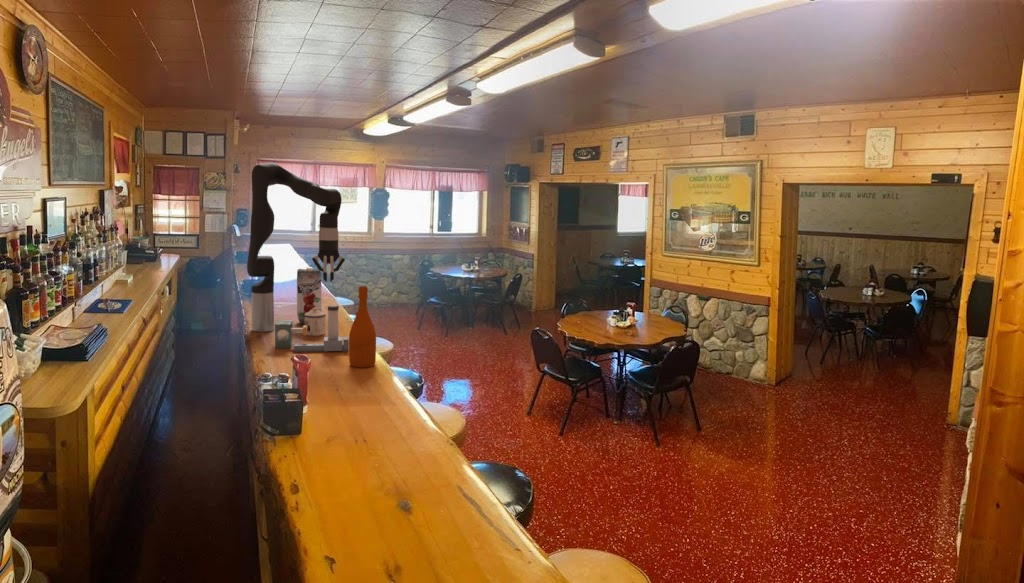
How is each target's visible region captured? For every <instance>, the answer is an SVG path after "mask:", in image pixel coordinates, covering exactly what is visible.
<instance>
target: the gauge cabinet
mask: <svg viewBox="0 0 1024 583" xmlns="http://www.w3.org/2000/svg"><path fill="white" fill-rule="evenodd" d="M291 328H293V319H277V320H276V322H274V348H275V349H276V350H277V349H279V350H281V349H282V350H283V349H287V350H289V349H290V350H291V349H292V347H293V345H294V344H293V338H294V337H293V333H291Z"/></svg>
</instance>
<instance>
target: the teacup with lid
mask: <svg viewBox="0 0 1024 583" xmlns="http://www.w3.org/2000/svg"><path fill="white" fill-rule="evenodd" d="M304 316H305V325H307V335H306V336H311V337H316V336H317V337H318V336H323V335H325V334H326V313H325V312H324V311H322V310H321V311H319V310H317V308H313V310H311V311H309V312H307V313H305V314H304Z"/></svg>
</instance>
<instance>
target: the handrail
mask: <svg viewBox="0 0 1024 583" xmlns="http://www.w3.org/2000/svg"><path fill="white" fill-rule="evenodd" d="M310 352H311V353H312V352H313V353H314V352H317V353H318V352H319V353H320V352H322V353H323V352H325V351H324V343H294V344H293V353H310ZM341 352H343V353H346V352H347V353H349V336H343V338H342V351H341Z"/></svg>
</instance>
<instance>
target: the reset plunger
mask: <svg viewBox="0 0 1024 583" xmlns="http://www.w3.org/2000/svg"><path fill="white" fill-rule="evenodd" d="M291 333H292V334H302V336H308V335H307V325H302V327H292V328H291Z"/></svg>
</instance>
